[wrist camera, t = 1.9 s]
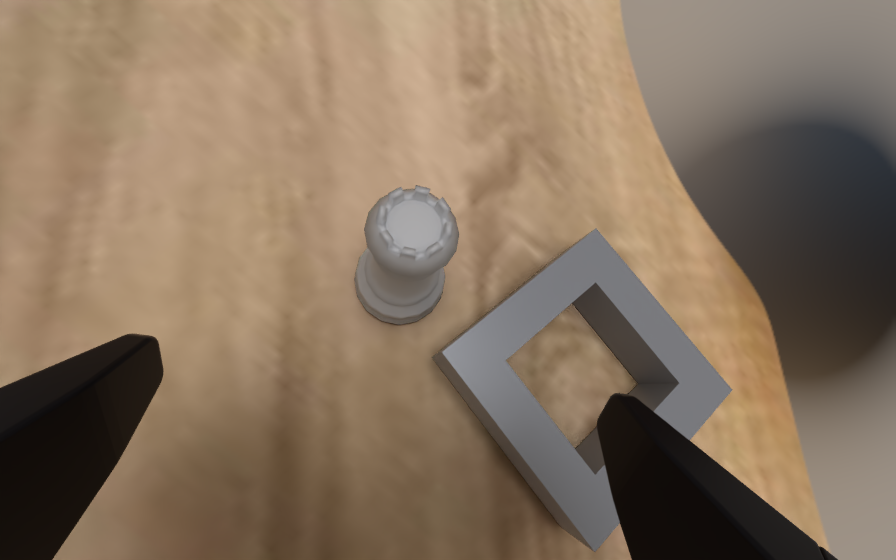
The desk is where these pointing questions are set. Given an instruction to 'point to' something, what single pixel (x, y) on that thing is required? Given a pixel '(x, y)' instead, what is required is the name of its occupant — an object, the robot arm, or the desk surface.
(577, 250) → the hollow square block
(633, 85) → the desk surface
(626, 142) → the desk surface
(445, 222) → the rook chess piece
